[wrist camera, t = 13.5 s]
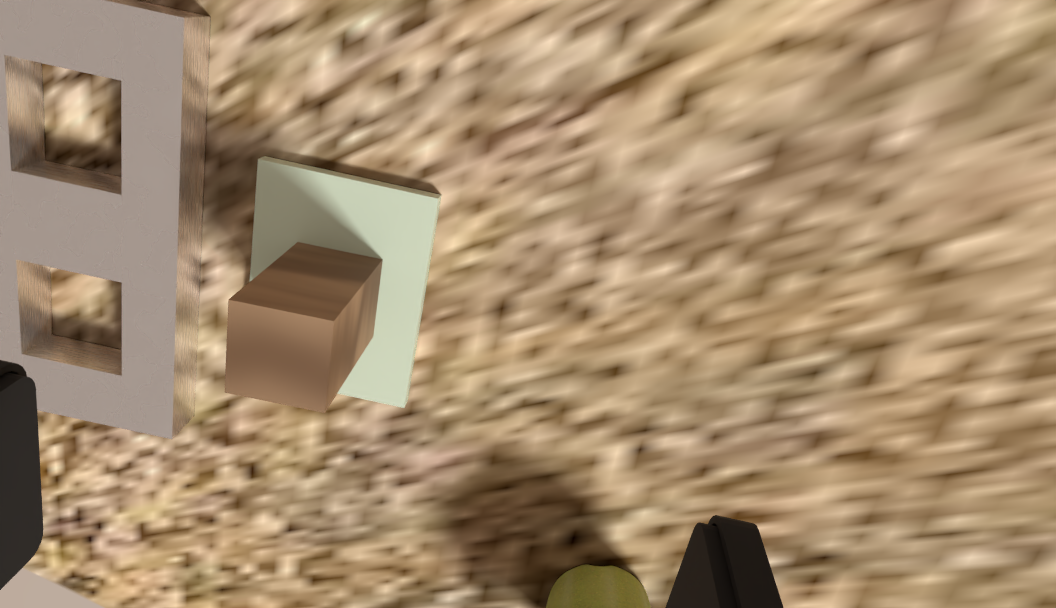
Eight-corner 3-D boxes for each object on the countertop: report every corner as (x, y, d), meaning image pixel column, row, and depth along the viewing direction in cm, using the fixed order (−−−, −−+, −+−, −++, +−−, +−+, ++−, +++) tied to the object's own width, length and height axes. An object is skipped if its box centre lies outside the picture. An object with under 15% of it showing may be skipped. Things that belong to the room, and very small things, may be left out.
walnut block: (297, 242, 39) (228, 299, 31) (382, 259, 39) (333, 321, 31) (291, 320, 40) (224, 392, 33) (373, 336, 40) (324, 412, 33)
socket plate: (-21, -35, 35) (-64, -37, 33) (210, 16, 36) (184, 17, 33) (6, 375, 44) (-26, 396, 41) (194, 416, 44) (172, 439, 42)
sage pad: (264, 155, 38) (258, 159, 37) (441, 194, 38) (438, 198, 37) (249, 366, 42) (243, 373, 42) (407, 400, 42) (404, 407, 42)
